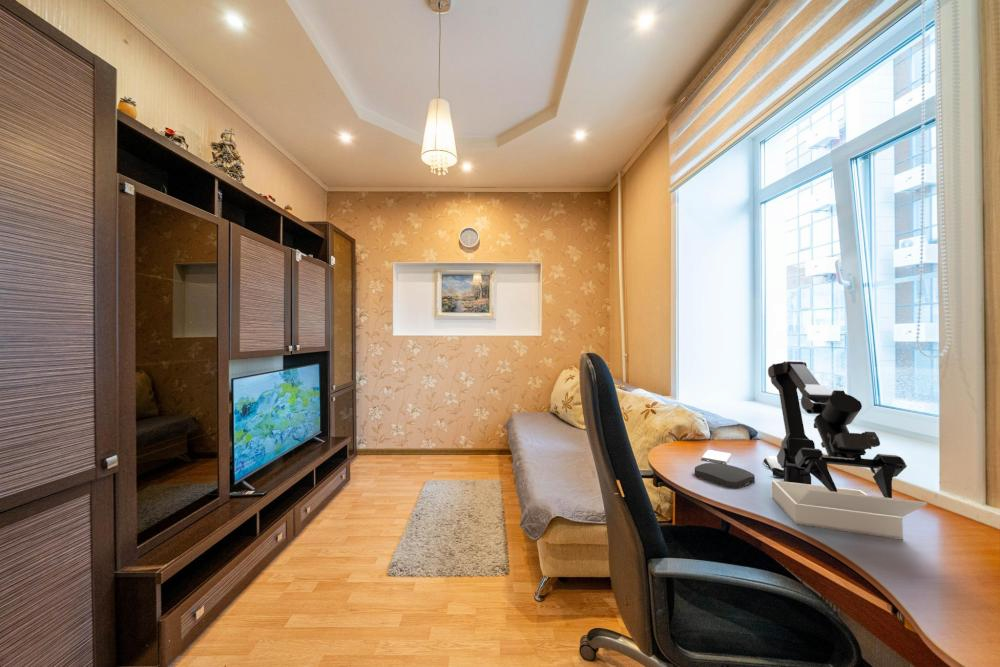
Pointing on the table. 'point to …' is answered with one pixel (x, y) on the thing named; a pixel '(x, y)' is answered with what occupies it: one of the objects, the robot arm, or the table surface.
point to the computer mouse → (774, 466)
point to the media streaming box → (725, 474)
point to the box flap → (860, 502)
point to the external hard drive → (716, 456)
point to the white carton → (833, 512)
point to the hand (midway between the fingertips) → (862, 497)
